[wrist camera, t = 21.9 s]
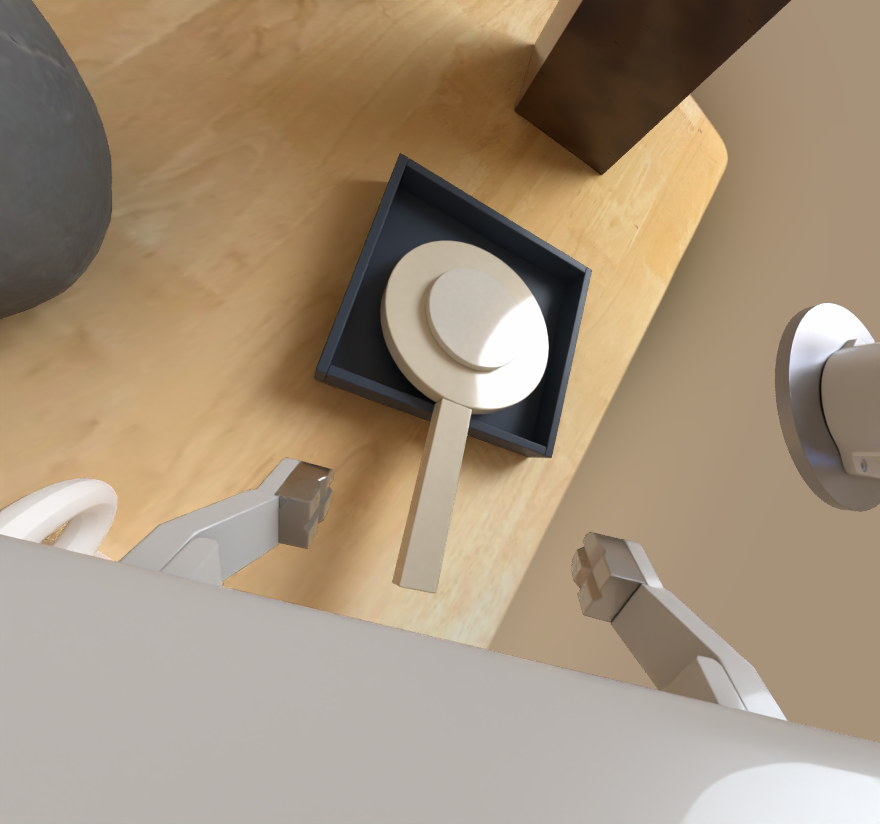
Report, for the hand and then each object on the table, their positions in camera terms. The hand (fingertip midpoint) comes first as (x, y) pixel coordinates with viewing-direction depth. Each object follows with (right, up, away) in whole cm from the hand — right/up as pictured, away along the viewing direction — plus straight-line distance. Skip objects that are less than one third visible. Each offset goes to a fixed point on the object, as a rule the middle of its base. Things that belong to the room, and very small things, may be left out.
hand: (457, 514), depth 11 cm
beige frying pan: (0, +4, +11) cm, 12 cm away
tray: (+1, +10, +14) cm, 17 cm away
